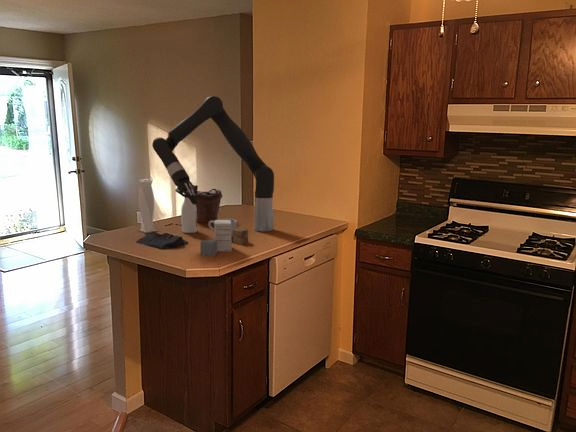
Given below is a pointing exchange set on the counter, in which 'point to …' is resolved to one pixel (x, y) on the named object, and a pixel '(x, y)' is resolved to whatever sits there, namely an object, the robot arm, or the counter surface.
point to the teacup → (233, 225)
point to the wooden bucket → (208, 205)
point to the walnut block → (240, 236)
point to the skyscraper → (146, 205)
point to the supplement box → (223, 235)
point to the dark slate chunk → (162, 241)
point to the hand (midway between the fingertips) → (195, 203)
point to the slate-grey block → (208, 248)
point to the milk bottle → (189, 217)
